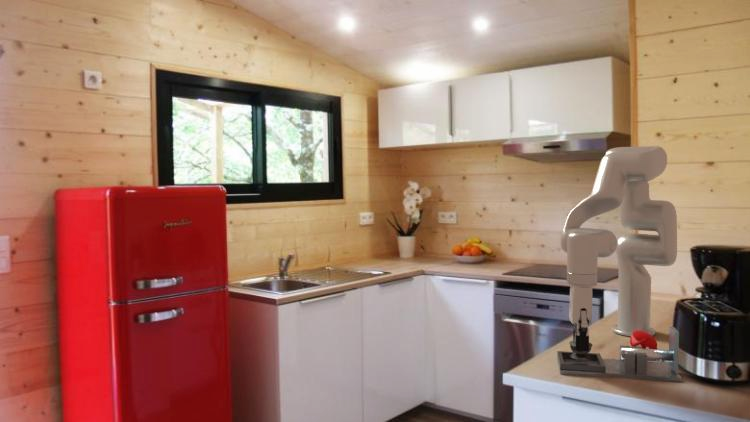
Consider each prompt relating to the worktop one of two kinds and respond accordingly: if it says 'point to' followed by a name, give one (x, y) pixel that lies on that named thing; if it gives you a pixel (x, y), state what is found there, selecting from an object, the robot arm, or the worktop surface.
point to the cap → (643, 340)
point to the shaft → (661, 351)
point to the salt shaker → (579, 354)
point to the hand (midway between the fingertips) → (580, 346)
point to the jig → (617, 366)
